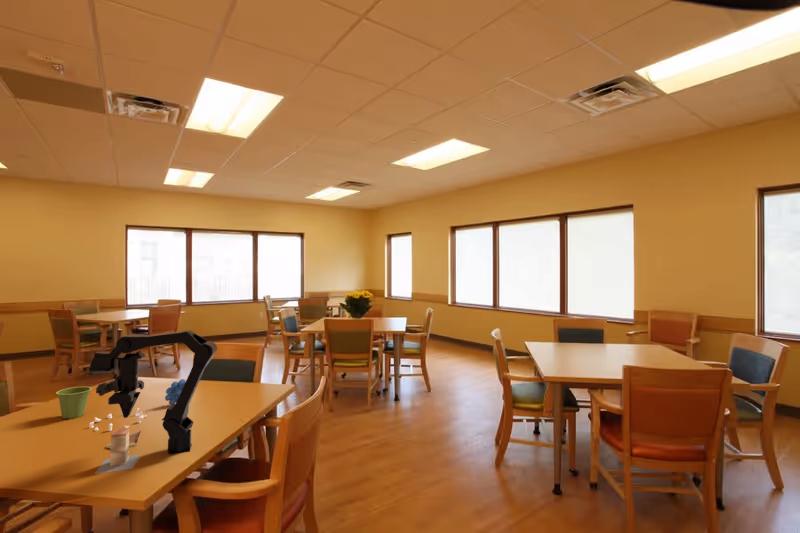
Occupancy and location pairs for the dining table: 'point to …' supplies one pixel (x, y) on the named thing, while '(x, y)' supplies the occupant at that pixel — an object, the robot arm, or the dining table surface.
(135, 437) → the shard
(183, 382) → the grapes
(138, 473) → the dining table surface
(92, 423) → the game piece set
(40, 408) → the dining table surface
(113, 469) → the mat
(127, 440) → the block
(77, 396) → the plant pot
